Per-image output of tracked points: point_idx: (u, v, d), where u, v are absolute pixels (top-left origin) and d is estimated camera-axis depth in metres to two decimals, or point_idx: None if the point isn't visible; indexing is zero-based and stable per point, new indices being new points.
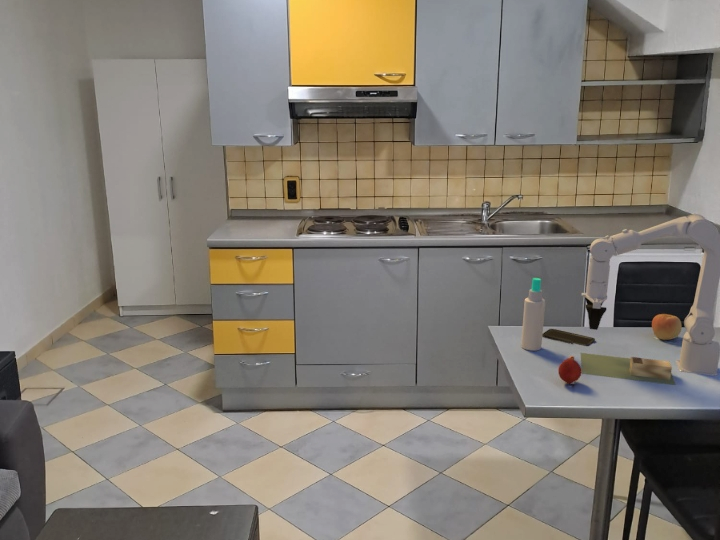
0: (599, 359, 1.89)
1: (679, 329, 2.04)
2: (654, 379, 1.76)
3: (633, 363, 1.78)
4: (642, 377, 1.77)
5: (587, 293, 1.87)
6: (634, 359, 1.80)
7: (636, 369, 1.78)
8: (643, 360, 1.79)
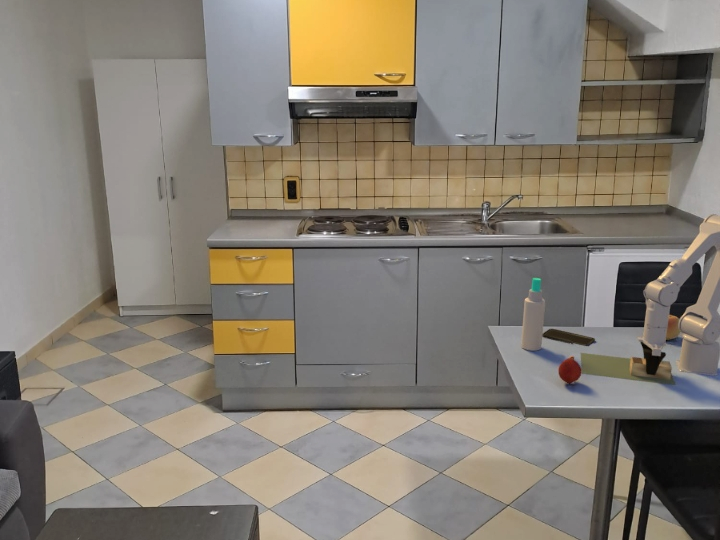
0: (599, 359, 1.89)
1: None
2: (654, 379, 1.76)
3: (633, 363, 1.78)
4: (642, 377, 1.77)
5: (644, 338, 1.76)
6: (634, 359, 1.80)
7: (636, 369, 1.78)
8: (643, 360, 1.79)
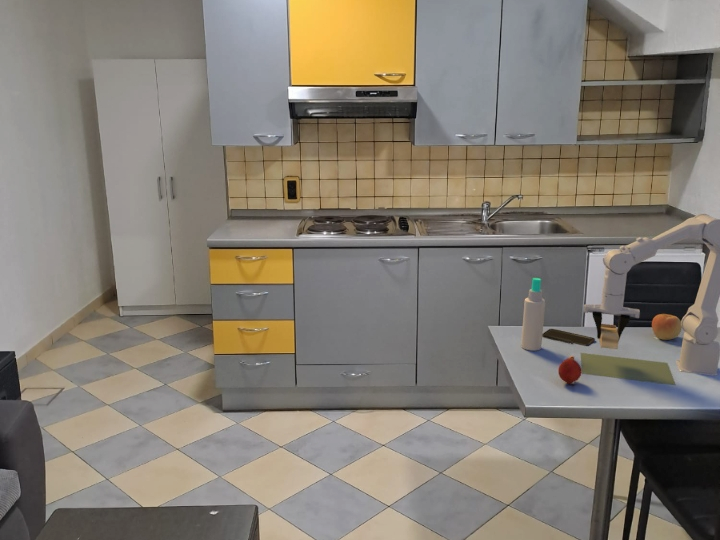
0: (599, 359, 1.89)
1: (679, 329, 2.04)
2: (654, 379, 1.76)
3: None
4: (642, 377, 1.77)
5: None
6: (608, 325, 1.86)
7: None
8: (610, 328, 1.84)
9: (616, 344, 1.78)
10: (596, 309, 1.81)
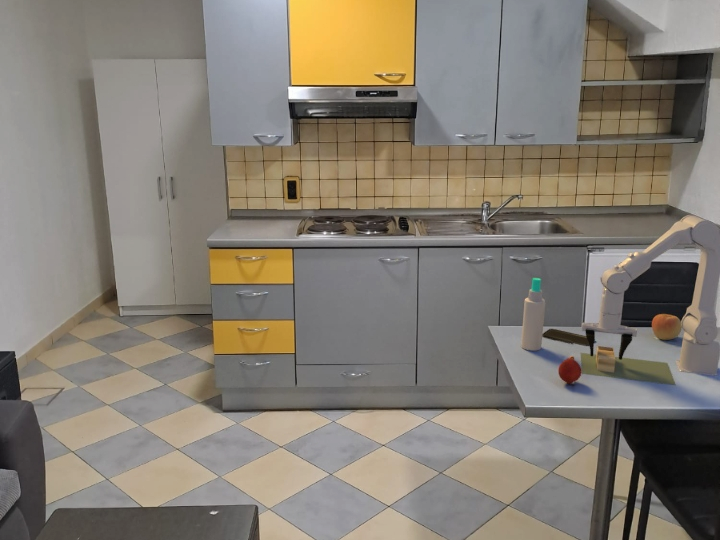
0: None
1: (679, 329, 2.04)
2: (654, 379, 1.76)
3: (597, 347, 1.89)
4: (642, 377, 1.77)
5: None
6: (606, 347, 1.88)
7: None
8: (607, 351, 1.86)
9: (612, 367, 1.80)
10: (594, 328, 1.82)
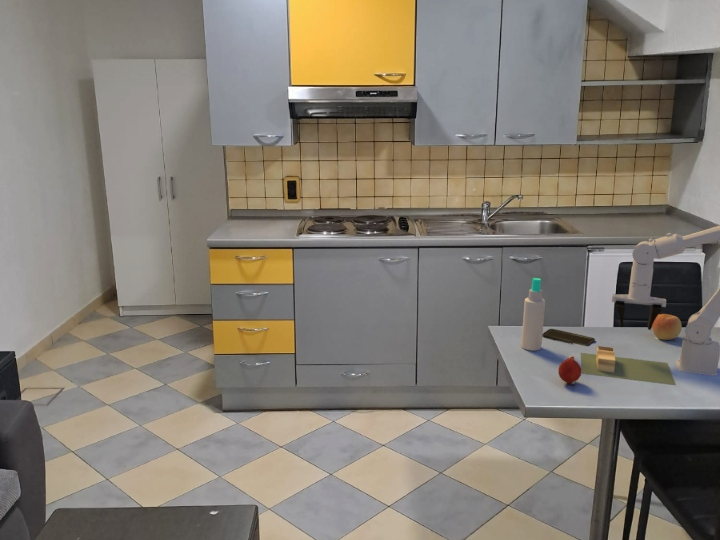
0: None
1: (679, 329, 2.04)
2: (654, 379, 1.76)
3: (597, 347, 1.89)
4: (642, 377, 1.77)
5: None
6: (606, 347, 1.88)
7: None
8: (607, 351, 1.86)
9: (612, 367, 1.80)
10: (624, 299, 1.87)
